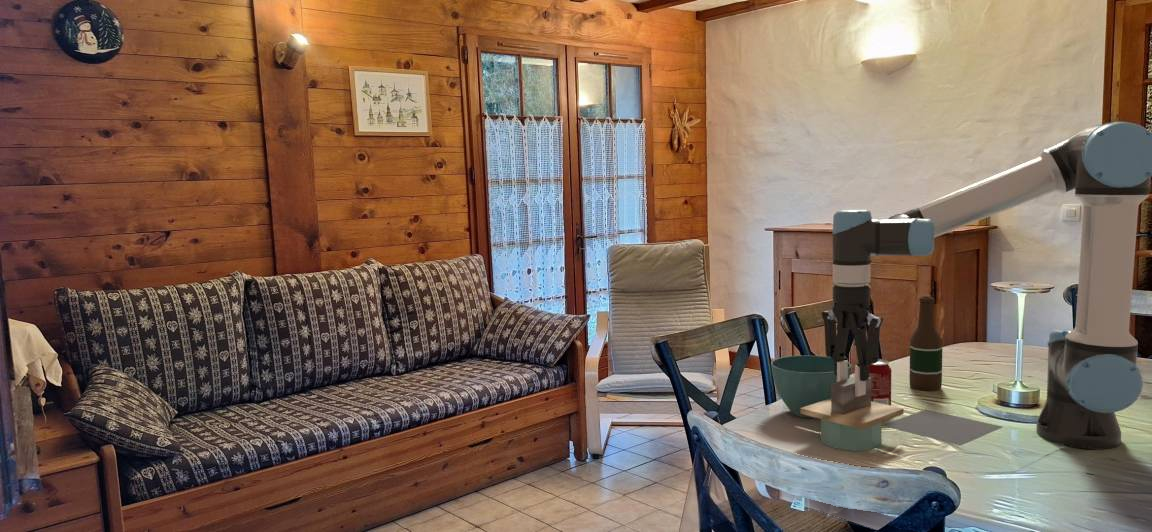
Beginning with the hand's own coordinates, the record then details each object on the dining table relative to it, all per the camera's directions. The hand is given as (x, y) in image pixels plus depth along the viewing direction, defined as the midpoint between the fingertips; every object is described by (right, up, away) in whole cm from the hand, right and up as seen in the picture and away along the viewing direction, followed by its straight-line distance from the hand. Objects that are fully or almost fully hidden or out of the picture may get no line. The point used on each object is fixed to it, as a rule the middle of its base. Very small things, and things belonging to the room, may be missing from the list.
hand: (851, 392), depth 171 cm
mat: (+23, -9, +8) cm, 26 cm away
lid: (0, -5, 0) cm, 5 cm away
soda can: (+13, -8, +22) cm, 27 cm away
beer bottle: (+33, -5, +40) cm, 53 cm away
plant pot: (-2, -9, +21) cm, 23 cm away
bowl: (0, -11, +1) cm, 11 cm away
